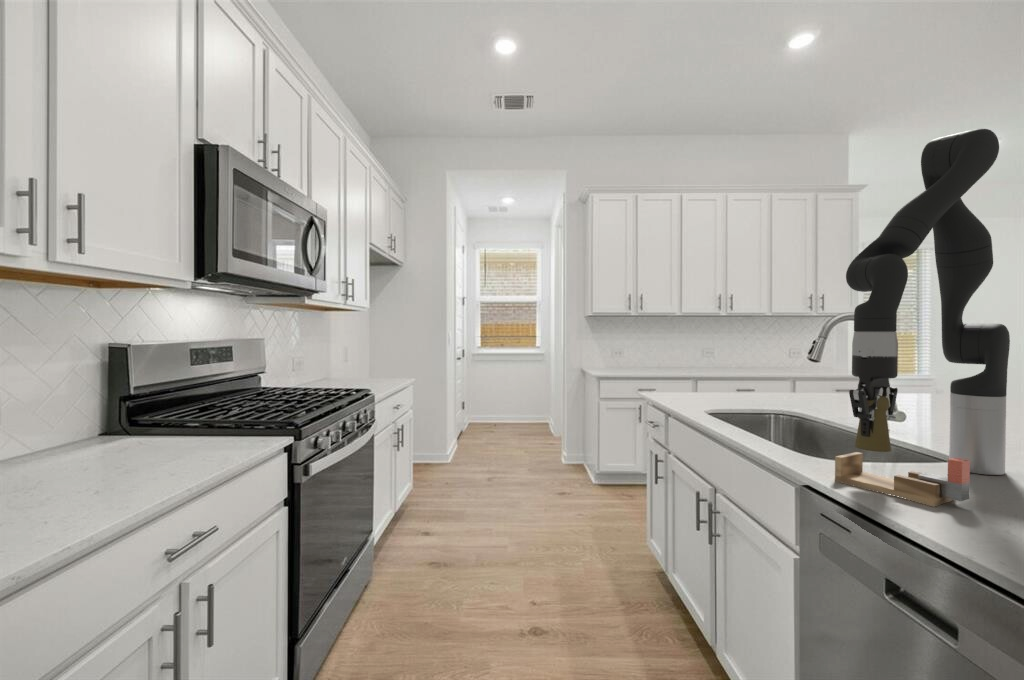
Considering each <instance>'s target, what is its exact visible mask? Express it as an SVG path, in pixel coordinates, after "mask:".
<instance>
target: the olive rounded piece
mask: <svg viewBox="0 0 1024 680" xmlns="http://www.w3.org/2000/svg"><path fill="white" fill-rule="evenodd" d="M867 403H868V406H871V405H873V404H874V400H872V401H869V400H867ZM888 408H889V400H888V399H887V398H886V397H885V396H881V397H880V398H879V399H878V409H877V410H875V419H874V421H873V422H874V426H873V434H872V431H871V429H870V437H866V436H861V420H860V419H859V421H858V426H857V430H856V431H857V433H856V438H855V443H854V447H855V448H857V449H859V450H865V451H869V452H878V453H885V452H886V453H889V452H891V451H892V446H891V438H890V431H889V425H888V419H887V417H886V411H887V410H888ZM869 413H870V409H869ZM865 433H866V431H865Z"/></svg>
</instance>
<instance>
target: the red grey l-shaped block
mask: <svg viewBox="0 0 1024 680" xmlns="http://www.w3.org/2000/svg"><path fill="white" fill-rule="evenodd" d="M970 476H971V472H970V460H967V459H962V458H952V459H949V458H948V459H947V476H943V475H937V474H934V473H933V474H932V473H928V472H924V473H923V474H919V475H918V479H919V480H924V481H928V482H932V483H937V484H940V493H939V496H941V497H945V498H949V499H953V500H952V501H954V500H955V501H959V502H964V501H967V500H970V487H971V486H970V484H971V483H970V481H971V479H970Z"/></svg>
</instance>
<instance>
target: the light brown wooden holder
mask: <svg viewBox="0 0 1024 680" xmlns="http://www.w3.org/2000/svg"><path fill="white" fill-rule="evenodd" d="M863 456H864V454H863V452H859V451H855V452H851V453H850V452H849V453H847V454H846V453H845V454H841V455H835V456H834V458H835V460H834V481H835V482H837V483H841V484H845V485H849V486H852V485H854V487H856V486H858V487H857V488H860V487H861V489H864V488H866V489H865V490H868V489H870V490H869V491H871V490H874V491H873V492H875V491H878V492H877V493H879V492H883V493H887V494H891V495H895V496H899V497H903V498H906V499H909V500H908V501H910V500H912V501H911V502H913V501H916V502H915V503H917V502H919V503H918V504H921V503H922V505H925V504H926V506H929V507H937V506H940V505H943V504H945V503H949V502H952V501H954V500H953V499H949V498H945V497H941V496H939V493H940V484H937V483H932V482H928V481H924V480H919V479H918V475H919V474H923V473H922V472H919V471H915V470H914V471H913V470H911V471H908V474H907V476H905V475H901V474H896V475H893V478H891V477H886V476H883V475H878V474H875V473H869V472H865V471H864V470H863V466H864V465H863V461H864V458H863ZM883 493H882V494H883ZM887 494H886V495H887ZM891 495H890V496H891ZM906 499H905V500H906Z"/></svg>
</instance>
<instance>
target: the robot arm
mask: <svg viewBox="0 0 1024 680" xmlns="http://www.w3.org/2000/svg"><path fill="white" fill-rule="evenodd" d="M999 152H1000V141H999V139H998V136H997V135H996V133H995V132H994V131H993V130H991V129H988V128H977V129H970V130H966V131H962V132H957V133H953V134H949V135H944V136H940V137H937V138H934V139H932V140H930V141H929V142H927V143H926V145H925V146H924V148H923V149H922V152H921V156H920V170H921V177H922V181H923V185H924V189H925V190H924V191H923V192H921V193H920V194H918V195H917V196H915V197H914V198H913V199H911V200H910V201H908V202H907V203H906V204H904V205H903V206H902V207H901V208H899V210H898V211H896V213H895V214H893V215H894V216H892V218H891V219H890V220H889V222H888V223H887V224H886V226H885V228H884V229H883V230H882V232H881V233H880V234H879V236H878V237H877V238H876V239H875V240H873V241H872V242H871V243H869V244H868V245H867V246H866V247H864V249H863V250H862V251H861V252H859V254H857V255H856V256H855V257H854V258H853V260H851V262H850V264H849V265H848V267H847V270H846V273H845V279H846V284H847V285H848V287H850V289H852V290H853V291H856V292H862V293H863V292H864V293H865V292H870V295H869V297H868V300H867V301H865V302H863V303H860V304H858V305H857V306H856V307H855V309H854V311H853V312H854V314H853V336H852V341H851V342H852V343H851V344H852V345H851V349H852V350H851V375H852V376H853V377H856V378H857V377H858V378H859V379H858V383H857V389H849V392H848V395H849V398H850V399H849V400H850V404H851V409H852V414H853V417H854V418H858V419H859V420H861V436H866V437H870V429H871V431H872V434H873V426H874V422H873V421H874V419H875V410H877V409H878V399H879V398H880V397H881V396H885V397H886V398H887V399H888V400H889V408H888V410H887V411H886V417H887V420H888V419H889V417H890V416H893V415H894V410H895V405H896V401H897V396H898V392H899V391H898V387H895V386H894V387H893V386H891V383H890V379H896V378H897V377H898V374H899V373H898V372H899V371H898V368H899V367H898V366H899V363H898V362H899V361H898V360H899V356H898V352H899V342H898V332H897V321H898V319H897V318H898V317H897V316H898V315H897V313H898V309H899V306H900V303H901V301H902V299H903V298H902V297H903V295H904V292H905V289H906V286H907V282H908V277H909V271H908V265H907V264H906V262H905V260H904V259H905V258H908V257H910V256H912V255H913V254H914V253H915V252H916V251H917V250H918V249H919V247H920V246H921V245H922V243H923V242H924V241H925V239H926V238H927V236H928V235H929V233H930V232H931V231H932V232H933V244H934V256H935V258H934V259H935V267H936V273H937V279H938V286H939V292H940V293H939V294H940V307H941V311H940V312H941V313H940V314H941V318H940V319H941V347H942V352H943V356H944V358H945V359H946V361H948V362H949V363H954V364H961V365H962V364H966V365H985V366H984V367H985V368H984V369H983V371H981V372H980V373H977V374H975V375H972V376H968V377H963V378H962V377H961V378H958V379H953V380H952V381H951V382H950V386H949V387H950V388H949V389H950V395H949V396H950V397H949V399H950V401H949V451H948V456H949V458H948V459H952V458H962V459H967V460H970V474H971V473H972V474H978V475H979V474H980V475H988V476H990V475H991V476H1001V475H1005V474H1006V450H1007V449H1006V445H1007V442H1006V441H1007V439H1006V437H1007V387H1008V384H1007V383H1008V369H1009V367H1008V364H1009V357H1010V345H1011V343H1010V342H1011V340H1010V337H1011V336H1010V332H1009V328H1007V326H1006V325H1005V324H1002V323H964V322H963V315H964V311H965V309H966V306H967V304H968V303H969V301H970V299H971V298H972V297H973V295H974V294H975V293H976V292H977V290H978V289H979V288H980V287H981V285H982V284H983V282H985V280H986V278H987V277H988V276H989V275H990V273H991V271H992V270H993V266H994V256H993V255H994V252H993V251H994V250H993V241H992V236H991V233H990V231H989V230H988V228H987V227H986V226H985V224H984V223H983V222H982V221H981V220H980V219H979V218H978V217H977V216H976V215H975V214H974V213H973V212H972V211H971V210H970V209H969V208H968V207H967V205H966V204H965V203H964V201H963V200H962V197H963V196H964V195H965V194H966V193H967V192H969V190H970V189H971V188H972V187H973V185H975V184H976V183H978V181H979V180H980V179H982V177H984V176H985V174H987V172H988V171H989V170H990V169H991V168H992V166H993V165H994V164H995V162H996V160H997V159H998V155H999ZM867 400H869V401H872V400H874V404H873V405H871V406H868V403H867ZM869 409H870V413H869ZM865 431H866V433H865Z"/></svg>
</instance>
